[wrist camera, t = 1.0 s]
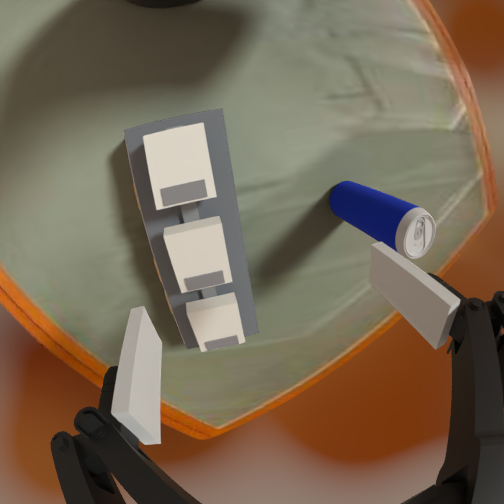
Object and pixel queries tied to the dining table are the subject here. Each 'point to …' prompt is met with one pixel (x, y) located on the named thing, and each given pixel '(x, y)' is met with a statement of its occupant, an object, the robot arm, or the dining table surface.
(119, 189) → the dining table surface
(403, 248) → the beverage can
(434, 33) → the dining table surface
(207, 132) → the switch console
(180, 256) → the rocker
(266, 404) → the dining table surface
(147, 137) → the plate
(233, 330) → the rocker
